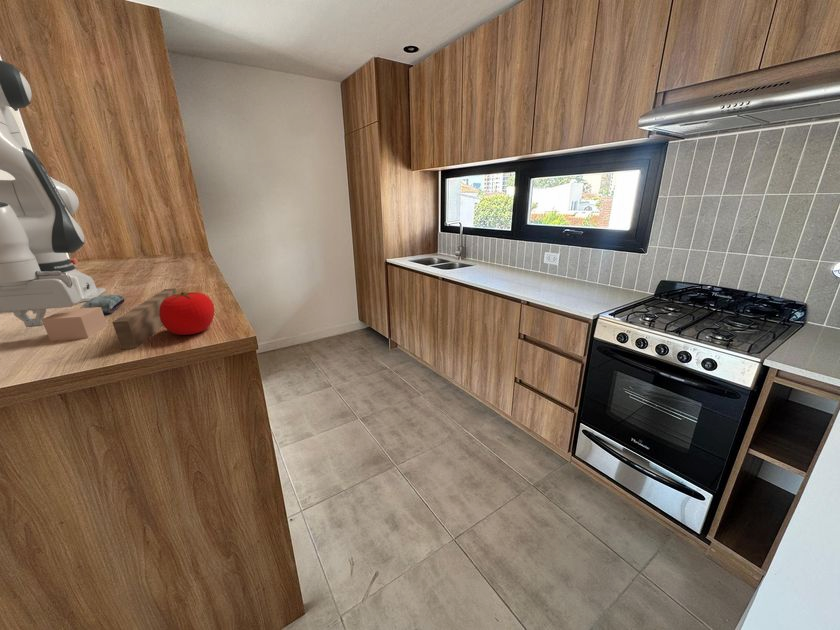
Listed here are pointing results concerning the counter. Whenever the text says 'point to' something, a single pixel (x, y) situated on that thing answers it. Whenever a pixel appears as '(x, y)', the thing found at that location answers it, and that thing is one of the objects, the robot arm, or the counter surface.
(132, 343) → the walnut board
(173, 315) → the tomato
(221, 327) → the counter surface
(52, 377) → the counter surface
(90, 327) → the terracotta block
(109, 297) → the packaged food
